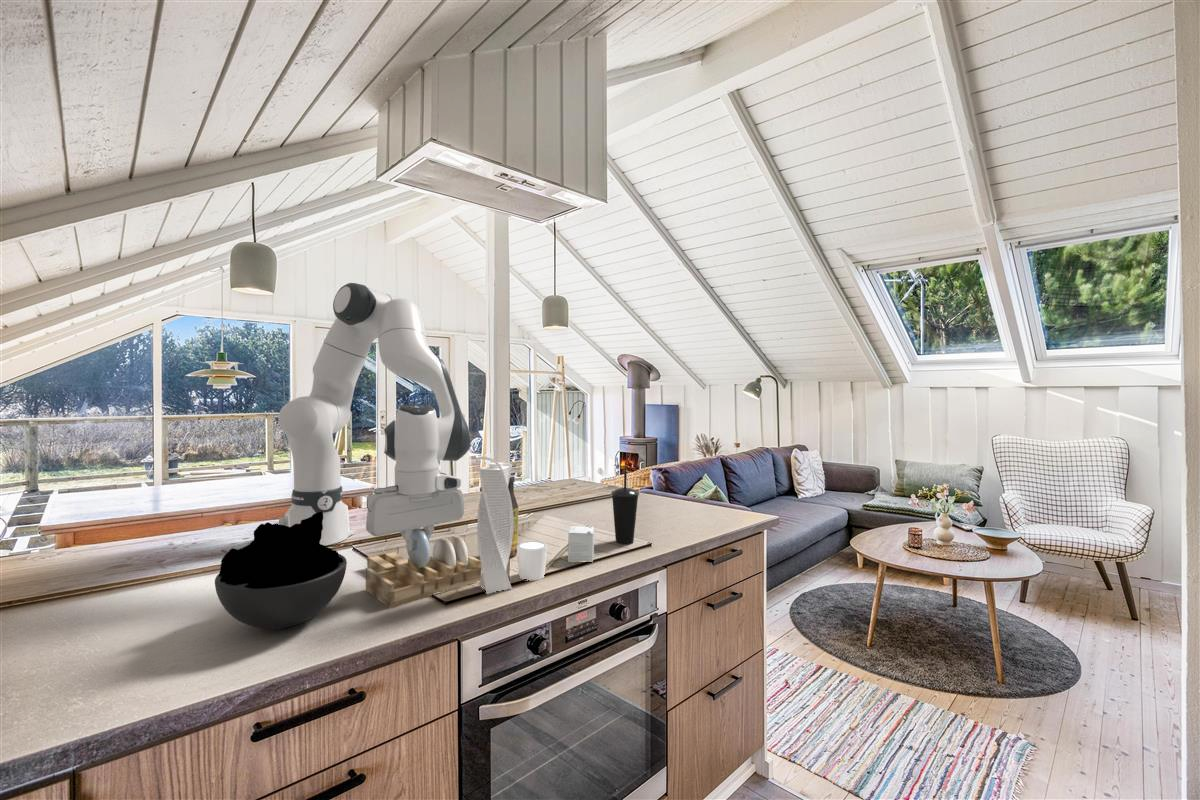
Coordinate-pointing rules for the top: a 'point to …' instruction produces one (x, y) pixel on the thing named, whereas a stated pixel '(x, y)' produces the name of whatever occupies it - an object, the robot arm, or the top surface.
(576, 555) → the skincare box
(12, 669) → the top surface
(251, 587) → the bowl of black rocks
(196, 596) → the top surface
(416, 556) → the blue plate
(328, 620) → the top surface
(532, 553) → the white cylinder
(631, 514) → the drinking cup
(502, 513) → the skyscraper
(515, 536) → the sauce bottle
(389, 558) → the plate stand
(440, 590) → the dish rack
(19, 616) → the top surface
